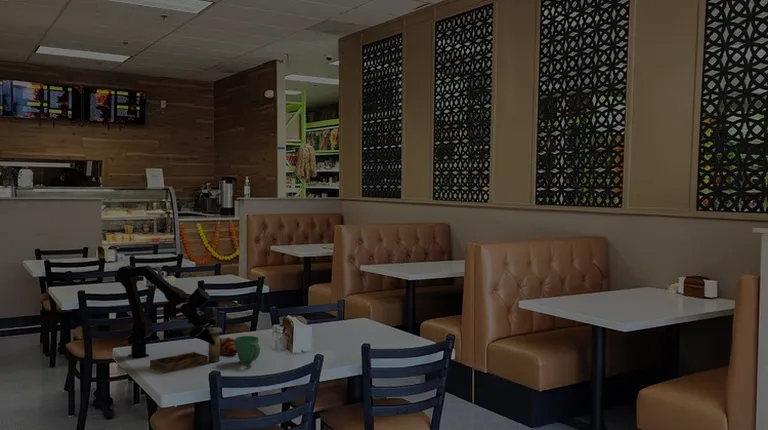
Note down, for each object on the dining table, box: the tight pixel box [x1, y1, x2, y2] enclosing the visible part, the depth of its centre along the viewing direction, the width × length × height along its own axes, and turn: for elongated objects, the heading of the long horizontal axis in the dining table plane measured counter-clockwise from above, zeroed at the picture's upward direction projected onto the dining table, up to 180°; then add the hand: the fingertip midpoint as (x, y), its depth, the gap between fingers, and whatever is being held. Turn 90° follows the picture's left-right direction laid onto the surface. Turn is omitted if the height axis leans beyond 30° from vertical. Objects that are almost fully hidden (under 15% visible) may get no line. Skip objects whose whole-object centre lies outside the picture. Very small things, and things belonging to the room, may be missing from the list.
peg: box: [208, 327, 223, 362], centre depth 277 cm, size 6×6×13 cm
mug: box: [234, 335, 261, 365], centre depth 275 cm, size 15×10×10 cm
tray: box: [149, 351, 210, 374], centre depth 269 cm, size 20×11×3 cm, turn 140°
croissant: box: [219, 336, 237, 356], centre depth 294 cm, size 21×10×8 cm, turn 37°
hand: (217, 342), depth 277 cm, fingers closed on peg, 5 cm apart
